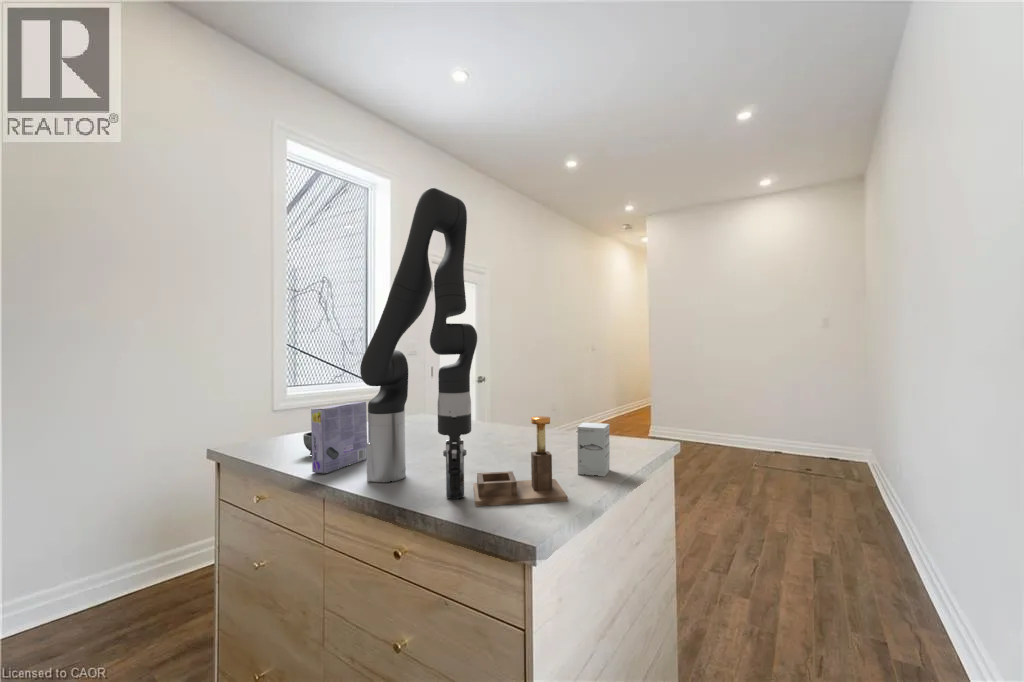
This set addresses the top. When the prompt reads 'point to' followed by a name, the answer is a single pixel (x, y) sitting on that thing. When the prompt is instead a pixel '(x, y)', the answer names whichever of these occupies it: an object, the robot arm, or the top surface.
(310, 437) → the mortar and pestle
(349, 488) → the top surface
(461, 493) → the spigot
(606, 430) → the supplement box
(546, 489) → the dock mount
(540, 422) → the lock pin
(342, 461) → the cake pan box
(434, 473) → the top surface
